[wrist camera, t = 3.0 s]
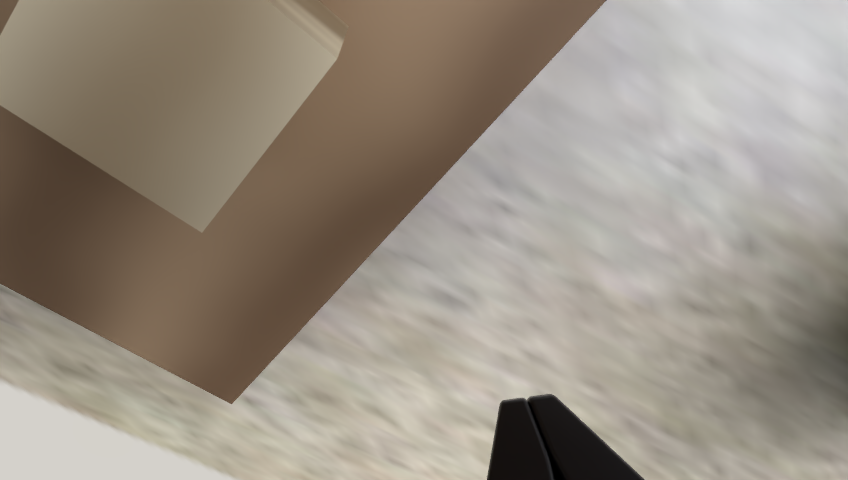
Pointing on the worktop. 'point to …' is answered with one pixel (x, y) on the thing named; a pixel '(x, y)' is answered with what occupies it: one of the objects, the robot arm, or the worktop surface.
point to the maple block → (167, 86)
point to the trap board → (273, 190)
